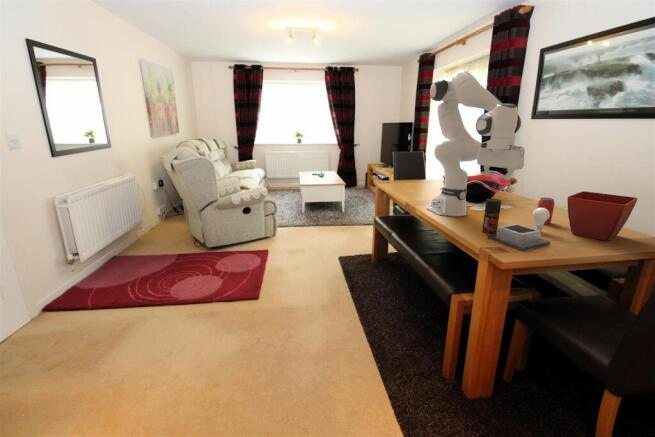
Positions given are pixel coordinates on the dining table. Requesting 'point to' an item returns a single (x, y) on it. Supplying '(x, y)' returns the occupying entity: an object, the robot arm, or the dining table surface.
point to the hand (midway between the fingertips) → (497, 177)
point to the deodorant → (491, 216)
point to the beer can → (547, 206)
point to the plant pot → (598, 214)
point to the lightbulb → (540, 217)
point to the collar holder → (519, 237)
